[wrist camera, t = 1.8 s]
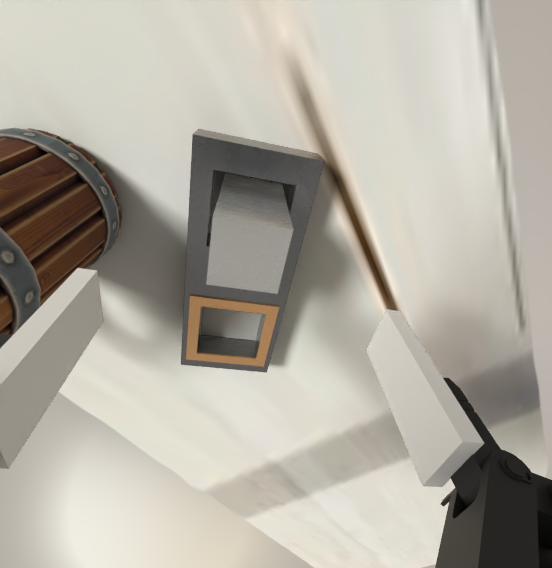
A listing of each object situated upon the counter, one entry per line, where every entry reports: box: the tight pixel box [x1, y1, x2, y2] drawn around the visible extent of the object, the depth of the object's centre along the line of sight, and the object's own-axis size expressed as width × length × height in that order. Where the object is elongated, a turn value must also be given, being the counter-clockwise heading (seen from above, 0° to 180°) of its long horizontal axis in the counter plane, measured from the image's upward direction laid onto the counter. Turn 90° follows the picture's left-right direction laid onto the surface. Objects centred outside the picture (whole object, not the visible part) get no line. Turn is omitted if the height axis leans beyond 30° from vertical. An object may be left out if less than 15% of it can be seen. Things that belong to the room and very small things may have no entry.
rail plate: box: [181, 129, 324, 372], centre depth 28 cm, size 22×9×3 cm, turn 169°
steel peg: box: [206, 173, 293, 294], centre depth 22 cm, size 4×4×9 cm
